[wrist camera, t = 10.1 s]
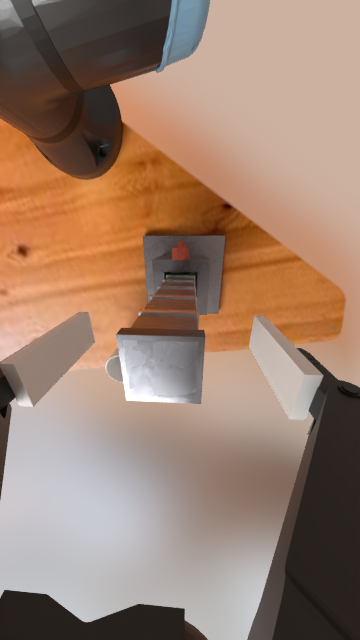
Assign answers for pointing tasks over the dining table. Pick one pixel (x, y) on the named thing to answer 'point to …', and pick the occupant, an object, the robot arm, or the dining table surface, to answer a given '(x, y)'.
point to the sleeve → (186, 265)
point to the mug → (114, 367)
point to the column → (165, 346)
